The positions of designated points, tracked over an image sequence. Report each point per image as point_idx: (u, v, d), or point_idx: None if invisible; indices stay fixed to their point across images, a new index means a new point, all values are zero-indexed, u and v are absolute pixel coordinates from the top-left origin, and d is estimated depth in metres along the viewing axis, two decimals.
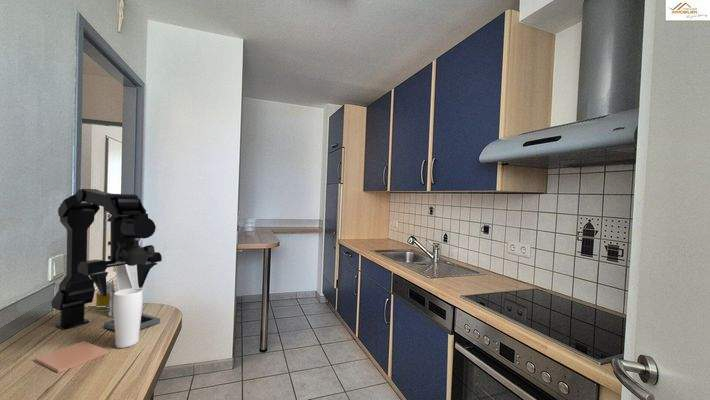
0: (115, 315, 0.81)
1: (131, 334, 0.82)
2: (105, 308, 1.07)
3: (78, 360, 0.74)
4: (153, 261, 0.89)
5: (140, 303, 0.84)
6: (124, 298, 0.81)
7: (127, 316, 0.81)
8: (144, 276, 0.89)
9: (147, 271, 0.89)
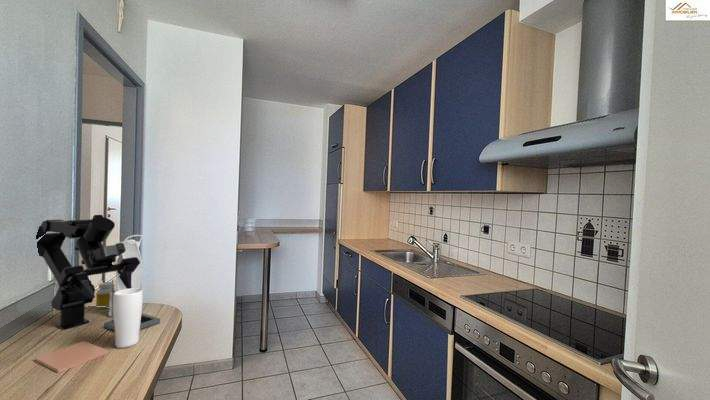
0: (115, 315, 0.81)
1: (131, 334, 0.82)
2: (105, 308, 1.07)
3: (78, 360, 0.74)
4: (131, 262, 0.94)
5: (140, 303, 0.84)
6: (124, 298, 0.81)
7: (127, 316, 0.81)
8: (128, 277, 0.92)
9: (129, 273, 0.93)
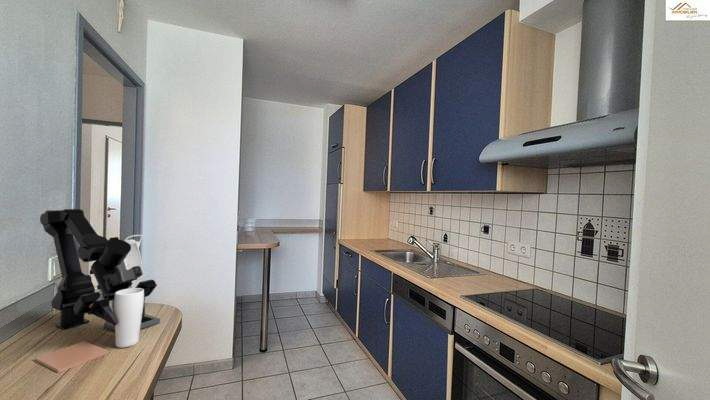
0: (116, 315, 0.81)
1: (131, 334, 0.82)
2: None
3: (78, 360, 0.74)
4: (147, 285, 0.90)
5: (141, 303, 0.84)
6: (125, 298, 0.81)
7: (128, 316, 0.81)
8: None
9: None
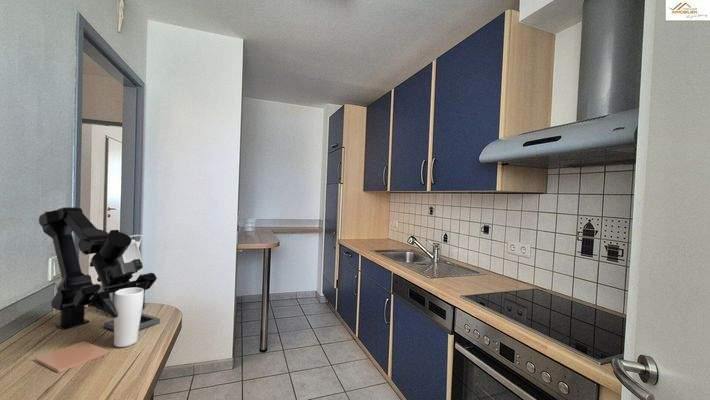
0: None
1: (130, 334, 0.82)
2: None
3: (78, 360, 0.74)
4: (148, 278, 0.90)
5: (141, 303, 0.84)
6: (125, 298, 0.81)
7: (127, 316, 0.81)
8: None
9: None
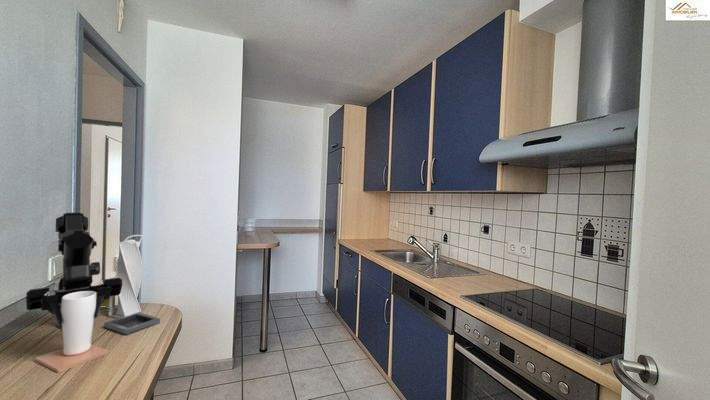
0: None
1: (76, 342, 0.76)
2: (105, 308, 1.07)
3: (78, 360, 0.74)
4: (109, 283, 0.83)
5: (88, 309, 0.77)
6: (67, 303, 0.74)
7: (71, 322, 0.75)
8: (97, 303, 0.80)
9: (100, 297, 0.81)
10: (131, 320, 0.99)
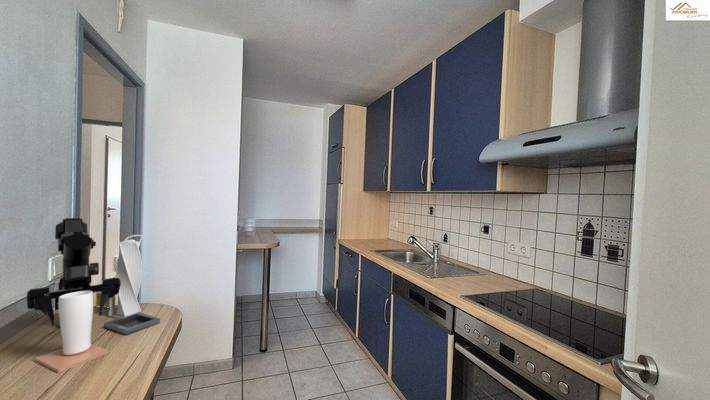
0: (59, 319, 0.76)
1: (75, 341, 0.76)
2: (105, 308, 1.07)
3: (78, 360, 0.74)
4: (108, 283, 0.85)
5: (85, 307, 0.77)
6: (64, 302, 0.75)
7: (69, 321, 0.75)
8: (102, 301, 0.83)
9: (105, 296, 0.84)
10: (131, 320, 0.99)
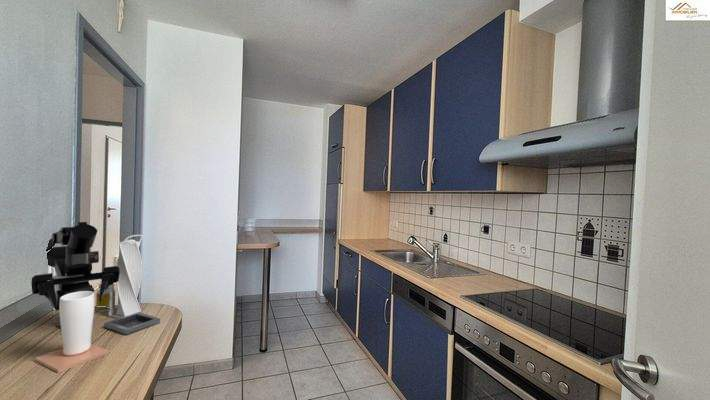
0: (60, 320, 0.75)
1: (76, 342, 0.76)
2: (105, 308, 1.07)
3: (78, 360, 0.74)
4: (108, 271, 0.90)
5: (86, 309, 0.77)
6: (66, 304, 0.74)
7: (70, 323, 0.74)
8: (102, 288, 0.88)
9: (104, 283, 0.89)
10: (131, 320, 0.99)
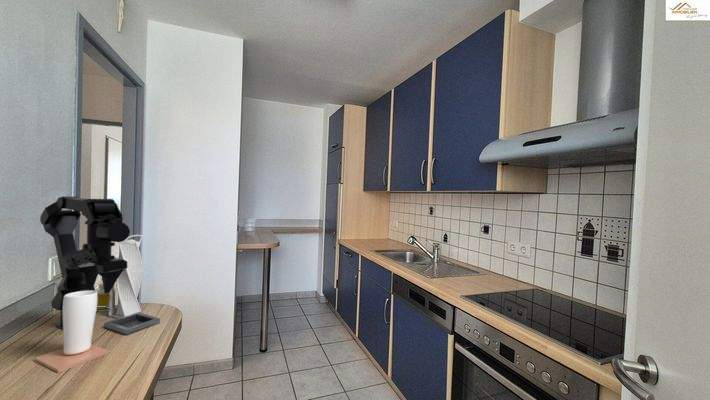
0: None
1: (77, 340, 0.76)
2: (105, 308, 1.07)
3: (78, 360, 0.74)
4: (98, 270, 0.84)
5: (90, 307, 0.78)
6: (70, 301, 0.75)
7: (72, 320, 0.75)
8: (103, 283, 0.87)
9: (103, 278, 0.86)
10: (131, 320, 0.99)
